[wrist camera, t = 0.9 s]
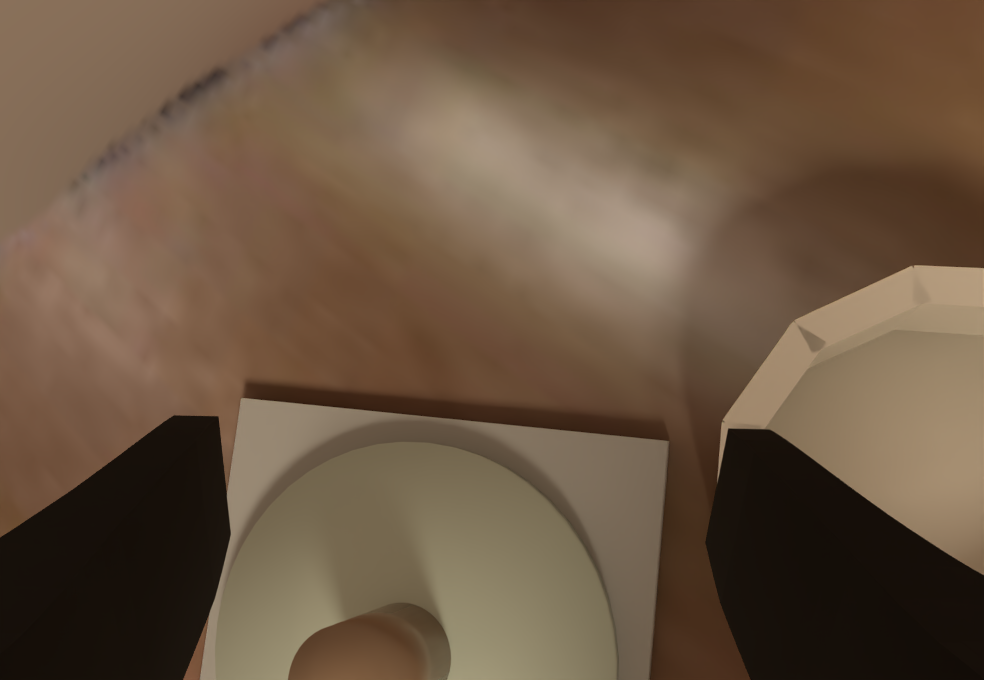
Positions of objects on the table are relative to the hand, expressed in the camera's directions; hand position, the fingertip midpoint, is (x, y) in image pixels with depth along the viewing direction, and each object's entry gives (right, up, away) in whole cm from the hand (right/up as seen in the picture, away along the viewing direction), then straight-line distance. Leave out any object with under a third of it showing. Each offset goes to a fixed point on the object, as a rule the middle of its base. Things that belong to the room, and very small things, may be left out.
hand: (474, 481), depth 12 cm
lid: (-2, -7, +13) cm, 15 cm away
